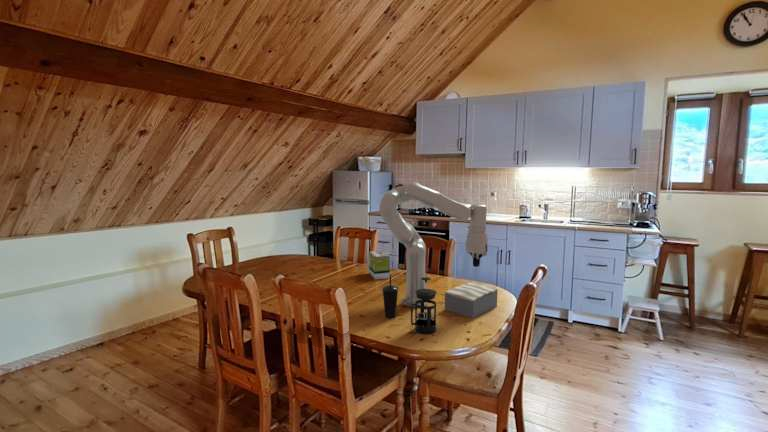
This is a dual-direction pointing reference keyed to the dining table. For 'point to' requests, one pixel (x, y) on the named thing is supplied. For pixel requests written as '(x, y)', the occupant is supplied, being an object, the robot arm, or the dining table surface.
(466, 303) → the storage box
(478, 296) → the near flap
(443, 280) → the dining table surface
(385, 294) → the drinking cup
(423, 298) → the french press
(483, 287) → the far flap
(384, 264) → the tea box
